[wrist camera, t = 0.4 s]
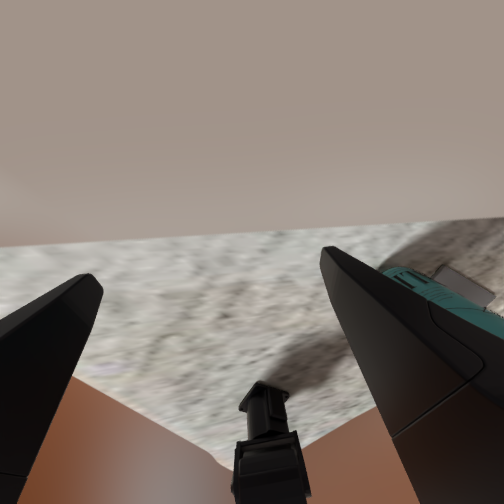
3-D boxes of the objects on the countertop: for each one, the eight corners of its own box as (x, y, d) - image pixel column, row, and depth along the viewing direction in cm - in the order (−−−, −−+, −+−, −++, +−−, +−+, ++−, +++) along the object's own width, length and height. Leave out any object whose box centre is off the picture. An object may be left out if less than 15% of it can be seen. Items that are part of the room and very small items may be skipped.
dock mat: (438, 347, 33) (440, 349, 33) (388, 324, 31) (390, 326, 30) (493, 294, 30) (496, 296, 30) (442, 264, 27) (445, 265, 27)
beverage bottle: (376, 309, 29) (617, 545, 11) (353, 280, 27) (600, 507, 9) (417, 282, 28) (768, 494, 10) (396, 249, 26) (790, 436, 8)
